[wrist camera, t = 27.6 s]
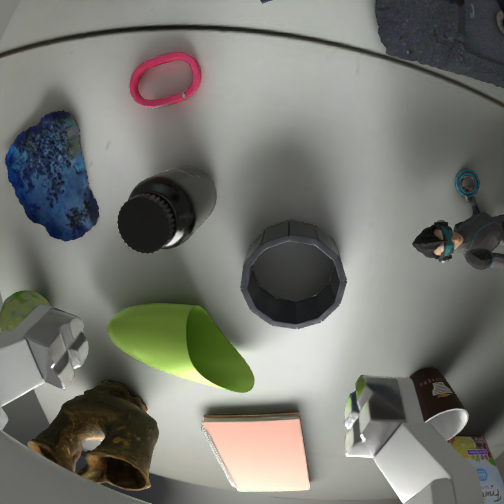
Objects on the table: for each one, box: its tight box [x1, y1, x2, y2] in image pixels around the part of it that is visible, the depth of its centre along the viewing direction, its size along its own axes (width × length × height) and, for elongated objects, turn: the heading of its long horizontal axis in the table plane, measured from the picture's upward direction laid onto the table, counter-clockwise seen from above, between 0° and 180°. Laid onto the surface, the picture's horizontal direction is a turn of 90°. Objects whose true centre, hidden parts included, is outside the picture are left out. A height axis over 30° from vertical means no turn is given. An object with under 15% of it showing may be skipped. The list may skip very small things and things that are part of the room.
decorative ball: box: [0, 290, 50, 333], centre depth 40 cm, size 10×10×10 cm
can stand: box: [240, 220, 347, 329], centre depth 35 cm, size 11×11×5 cm
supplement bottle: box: [117, 166, 217, 254], centre depth 30 cm, size 7×7×12 cm
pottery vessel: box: [27, 381, 159, 491], centre depth 41 cm, size 25×11×20 cm, turn 106°
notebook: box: [201, 412, 310, 491], centre depth 51 cm, size 27×17×2 cm, turn 11°
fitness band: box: [130, 52, 201, 108], centre depth 30 cm, size 8×6×2 cm
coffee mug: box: [410, 367, 469, 441], centre depth 37 cm, size 12×9×10 cm
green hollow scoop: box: [107, 303, 254, 393], centre depth 39 cm, size 8×12×20 cm
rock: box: [5, 110, 99, 241], centre depth 36 cm, size 15×17×2 cm
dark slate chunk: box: [375, 0, 504, 88], centre depth 21 cm, size 15×22×5 cm
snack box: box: [448, 436, 504, 504], centre depth 36 cm, size 22×9×26 cm, turn 74°
